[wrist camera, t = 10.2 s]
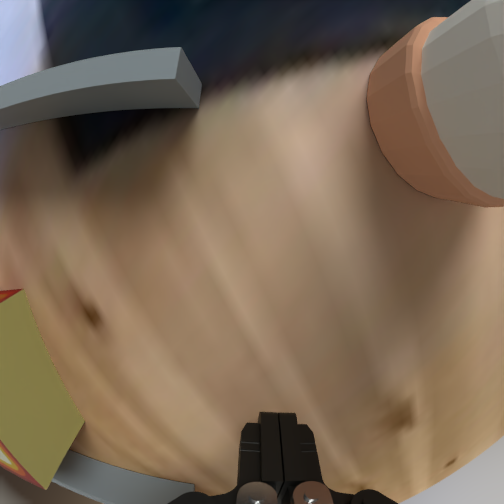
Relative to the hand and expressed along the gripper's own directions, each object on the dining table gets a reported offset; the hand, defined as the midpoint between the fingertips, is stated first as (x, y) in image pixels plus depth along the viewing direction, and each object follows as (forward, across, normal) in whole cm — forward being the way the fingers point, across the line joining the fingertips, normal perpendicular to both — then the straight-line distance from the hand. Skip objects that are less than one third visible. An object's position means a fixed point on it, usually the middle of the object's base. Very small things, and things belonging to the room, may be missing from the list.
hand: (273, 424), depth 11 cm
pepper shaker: (+2, -6, -14) cm, 15 cm away
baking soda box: (-1, +12, +1) cm, 12 cm away
